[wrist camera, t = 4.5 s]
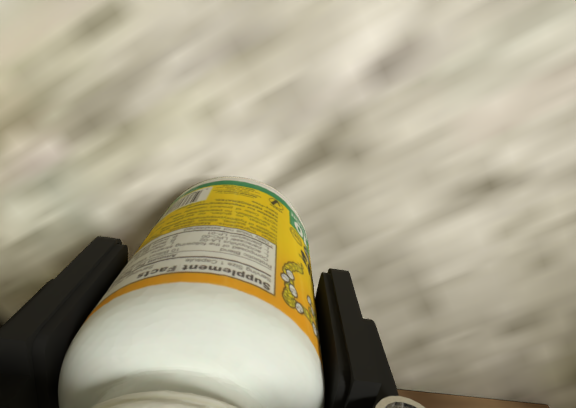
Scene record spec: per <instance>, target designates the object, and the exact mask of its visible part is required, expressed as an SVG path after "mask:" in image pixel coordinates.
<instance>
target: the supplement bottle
mask: <svg viewBox="0 0 576 408" xmlns="http://www.w3.org/2000/svg"><path fill="white" fill-rule="evenodd" d="M58 400H59V408H324V405H325V382H324V372H323V362H322V353H321V345H320V339H319V330H318V321H317V313H316V305H315V296H314V285H313V279H312V271H311V263H310V254H309V245H308V240H307V235H306V231H305V228H304V226H303V224H302V221H301V219H300V218H299V216H298V214H297V212H296V210H295V209H294V208H293V206H292V205H291V204H290V202H289V201H288V200H287V199H286V198H285V197H284V196H283V195H282V194H281V193H279V192H278V191H277V190H275V189H274V188H272V187H270V186H268V185H266V184H264V183H261V182H258V181H255V180H252V179H248V178H241V177H220V178H214V179H210V180H206V181H204V182H201V183H199V184H197V185H195V186H193V187H191V188H189V189H188V190H186V191H185V192H184V193H182V194H181V195H180V196H179V197H178V198H177V199H176V200H175V201H174V202H173V203H172V204H171V206H170V207H169V208H168V209H167V211H166V212H165V213H164V214H163V215H162V217H161V218H160V220H159V221H158V222H157V223H156V225H155V226H154V228H153V229H152V230H151V232H150V233H149V235H148V236H147V238H146V239H145V240H144V242H143V243H142V244H141V246H140V247H139V249H138V250H137V251H136V253H135V254H134V256H133V257H132V258H131V259H130V261H129V262H128V263H127V265H126V266H125V267H124V268H123V270H122V271H121V273H120V274H119V275H118V277H117V278H116V279H115V281H114V282H113V284H112V285H111V286H110V288H109V289H108V290H107V292H106V293H105V295H104V296H103V297H102V299H101V300H100V301H99V303H98V304H97V305H96V307H95V308H94V309H93V311H92V312H91V313H90V315H89V316H88V317H87V319H86V320H85V322H84V323H83V325H82V326H81V328H80V329H79V331H78V332H77V334H76V336H75V337H74V339H73V340H72V342H71V344H70V346H69V348H68V350H67V352H66V354H65V357H64V360H63V363H62V366H61V370H60V375H59V382H58Z"/></svg>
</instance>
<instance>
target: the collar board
mask: <svg viewBox="0 0 576 408" xmlns="http://www.w3.org/2000/svg"><path fill="white" fill-rule="evenodd" d="M397 391H398V394H399V396H402V397H406V398H410V399H412V400H414V401H416V402H418V403H420V404H421V405H422V406H424V407H425V408H549V406H548V405H543V404H534V403H524V402H514V401H505V400H495V399H485V398H476V397H466V396H456V395H446V394H437V393H427V392H417V391H408V390H398V389H397Z"/></svg>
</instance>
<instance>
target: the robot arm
mask: <svg viewBox="0 0 576 408" xmlns="http://www.w3.org/2000/svg"><path fill="white" fill-rule="evenodd" d="M127 263H128V248H127V246H126V245H122V242H121V240H120V239H115V238H108V237H101V236H98V237H97V238H95V239H94V240H93V241H92V242H91V243H90V244H89V245H88V246H87V247H86V248H85V249H84V250H83V251H82V252H81V253H80V254H79V255H78V256H77V257H76V258H75V259H74V260H73V261H72V262H71V263H70V264H69V265H68V266H67V267H66V268H65V269H64V270H63V271H62V272H61V273H60V274H59V275H58V276H57V277H56V278H55V279H52V280H50V281H49V282H48V283H46V284H45V285H44V286H43V287H42V288H41V289H40V290H39V291H38V292H37V293H36V294H35V295H34V296H33V297H32V298H31V299H30V300H29V301H28V302H27V303H26V304H25V305H24V306H23V307H22V308H21V309H20V310H19V311H18V312H17V313H15V314H14V315H13V316H12V317H11V318H10V319H9V320H8V321H7V322H6V323H5V324H4V325H3V326H2V327H1V328H0V408H59V400H58V382H59V375H60V370H61V366H62V363H63V360H64V357H65V354H66V352H67V350H68V348H69V346H70V344H71V342H72V340H73V339H74V337H75V336H76V334H77V332H78V331H79V329H80V328H81V326H82V325H83V323H84V322H85V320H86V319H87V317H88V316H89V315H90V313H91V312H92V311H93V309H94V308H95V307H96V305H97V304H98V303H99V301H100V300H101V299H102V297H103V296H104V295H105V293H106V292H107V290H108V289H109V288H110V286H111V285H112V284H113V282H114V281H115V279H116V278H117V277H118V275H119V274H120V273H121V271H122V270H123V268H124V267H125V266H126V265H127ZM315 305H316V313H317V321H318V330H319V339H320V345H321V353H322V362H323V372H324V382H325V405H324V408H425V407H424V406H422V405H421V404H420V403H418V402H416V401H414V400H412V399H410V398H406V397H402V396H399V394H398V391H397V388H396V385H395V382H394V379H393V376H392V373H391V370H390V367H389V364H388V361H387V358H386V355H385V352H384V349H383V346H382V343H381V340H380V337H379V334H378V331H377V328H376V325H375V323H374V321H373V320H370V319H363V318H362V314H361V311H360V307H359V304H358V301H357V297H356V294H355V290H354V287H353V283H352V280H351V277H350V273H349V271H344V270H337V269H329V270H328V273H323V272H322V273H321V276H320V280H319V284H318V288H317V293H316V297H315Z"/></svg>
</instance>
